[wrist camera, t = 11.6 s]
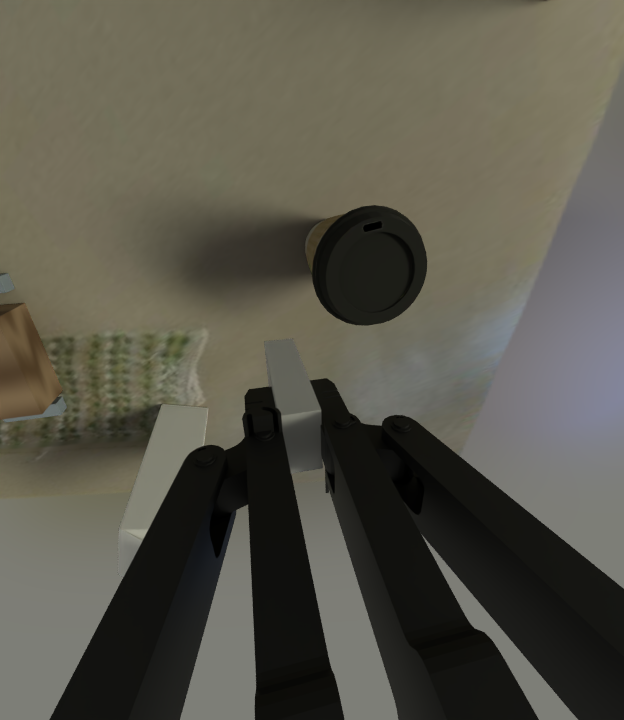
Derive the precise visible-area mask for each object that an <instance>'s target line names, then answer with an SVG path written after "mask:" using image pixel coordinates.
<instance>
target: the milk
mask: <svg viewBox="0 0 624 720" xmlns="http://www.w3.org/2000/svg"><path fill="white" fill-rule="evenodd" d="M207 416H208V408H204V407H193V406H182V405H170V404H162V405H161V408H160V411H159V413H158V416H157V419H156V422H155V425H154V428H153V431H152V434H151V437H150V439H149V442H148V445H147V448H146V451H145V454H144V457H143V460H142V463H141V466H140V468H139V471H138V474H137V477H136V480H135V483H134V486H133V489H132V492H131V495H130V497H129V500H128V503H127V506H126V509H125V512H124V515H123V518H122V521H121V524H120V526H119V537H118V541H119V542H118V575H120V576H121V577H124V575H125V573H126V572H127V570H128V568H129V566H130V564H131V562H132V560H133V558H134V556H135V554H136V552H137V550H138V548H139V547H140V545H141V543H142V541H143V539H144V537H145V535H146V533H147V531H148V529H149V527H150V525H151V523H152V521H153V520H154V518H155V516H156V514H157V512H158V510H159V508H160V506H161V504H162V502H163V500H164V498H165V496H166V495H167V493H168V491H169V489H170V487H171V485H172V483H173V481H174V479H175V477H176V475H177V473H178V471H179V470H180V468H181V466H182V464H183V462H184V460H185V458H186V457H187V456H188V454H189V453H191V452H192V451H193V450H195V449H197V448H199V447H202V446H204V440H205V432H206V424H207Z"/></svg>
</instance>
